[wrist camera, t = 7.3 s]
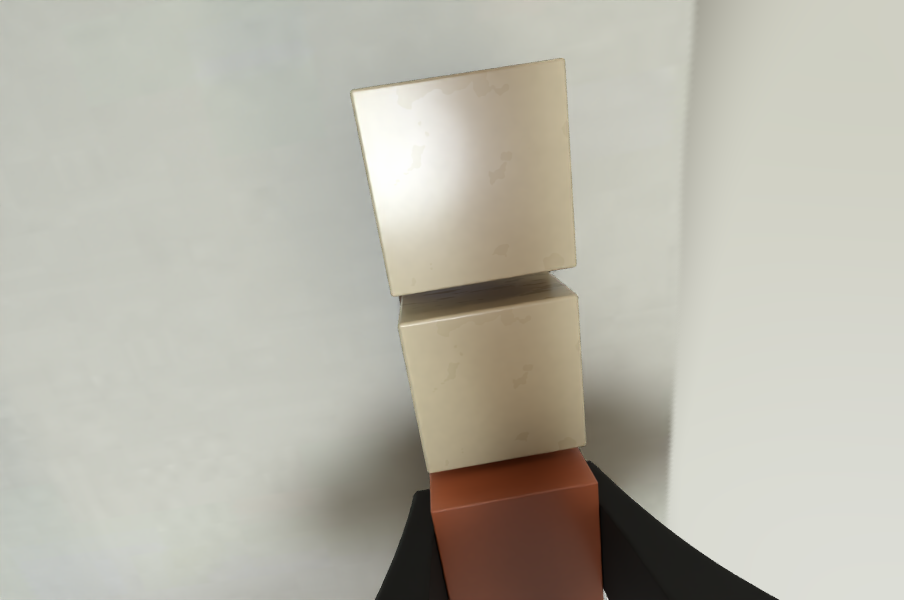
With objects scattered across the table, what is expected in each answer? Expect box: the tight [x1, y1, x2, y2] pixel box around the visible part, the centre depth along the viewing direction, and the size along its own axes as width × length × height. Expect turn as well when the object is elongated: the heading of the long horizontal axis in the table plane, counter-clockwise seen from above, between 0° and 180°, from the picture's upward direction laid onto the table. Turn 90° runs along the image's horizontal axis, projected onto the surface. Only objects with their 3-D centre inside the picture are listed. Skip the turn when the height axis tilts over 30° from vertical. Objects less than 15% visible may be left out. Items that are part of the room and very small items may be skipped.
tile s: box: [429, 447, 604, 600], centre depth 11 cm, size 4×4×2 cm
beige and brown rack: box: [350, 58, 586, 473], centre depth 11 cm, size 4×14×3 cm, turn 9°
